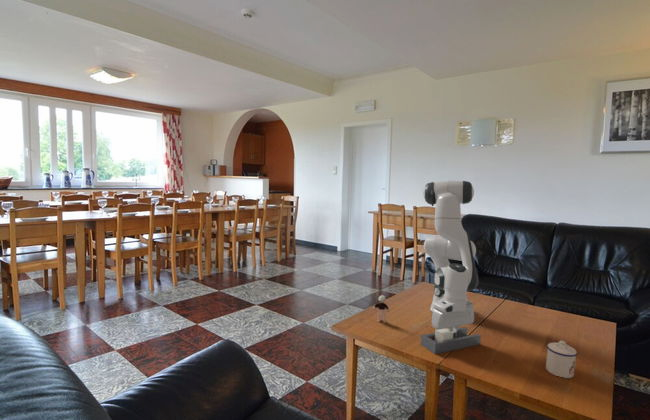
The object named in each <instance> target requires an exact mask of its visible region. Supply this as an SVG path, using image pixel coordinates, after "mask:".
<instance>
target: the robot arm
mask: <svg viewBox="0 0 650 420" xmlns="http://www.w3.org/2000/svg"><path fill="white" fill-rule="evenodd" d="M422 193H423V198H424V200H425V201H424V202H426V203H427V204H429V205H431V206H432V207H434V206H435V207H434V228H435V229H434V230H435V231H436V233H437V234H438V235H430V236H427V237H426V239H425V240H424V242H423V249H424V251H425V253H426V254H427V256H429V257H430V258H431V260H432V262H433V264H434V269H435V271H434V273H433V283H434V284H433V285H434V286H433V291H434V292H433V297H432V302H431V306H430V309H429V310H430V311H431V312H432V316H431V326H432V327H433V328H434V329H435V330H436V329H438V330H440V329H445V328H446V329H447V330H449V331H451V332H453V336H456V334H457V331H458V329H459V328H460V326H466V325H467V326H468V325H472V324H473V323H474V321H475V311H474V310H475V309H474V303H473V302H471V301H469V299H468V297H467V292H472V291H474V290H475V289H476V288H477V287H478V286H479V283H480V281H479V274H478V272H477V267H476V265H475V256H476V254H477V247H476V244H475V243H474V241H472V240H471V237H470V234H469V232H467V231H466V230H465V229H464V227H463V223H462V213H461V211H462V210H461V204H462V205H465V204H469V203H471V202H472V200H473V198H474V195H475V189H474V187H473V184H472V183H471V181H468V180H467V181H466V180H461V181H460V180H446V181H436V182H434V181H432V182H428V183H426V184H425V186H424V188H423V192H422ZM449 260H454V261H461V263H462V264H460V263H451V262H450V261H449ZM452 329H453V330H452Z"/></svg>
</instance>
